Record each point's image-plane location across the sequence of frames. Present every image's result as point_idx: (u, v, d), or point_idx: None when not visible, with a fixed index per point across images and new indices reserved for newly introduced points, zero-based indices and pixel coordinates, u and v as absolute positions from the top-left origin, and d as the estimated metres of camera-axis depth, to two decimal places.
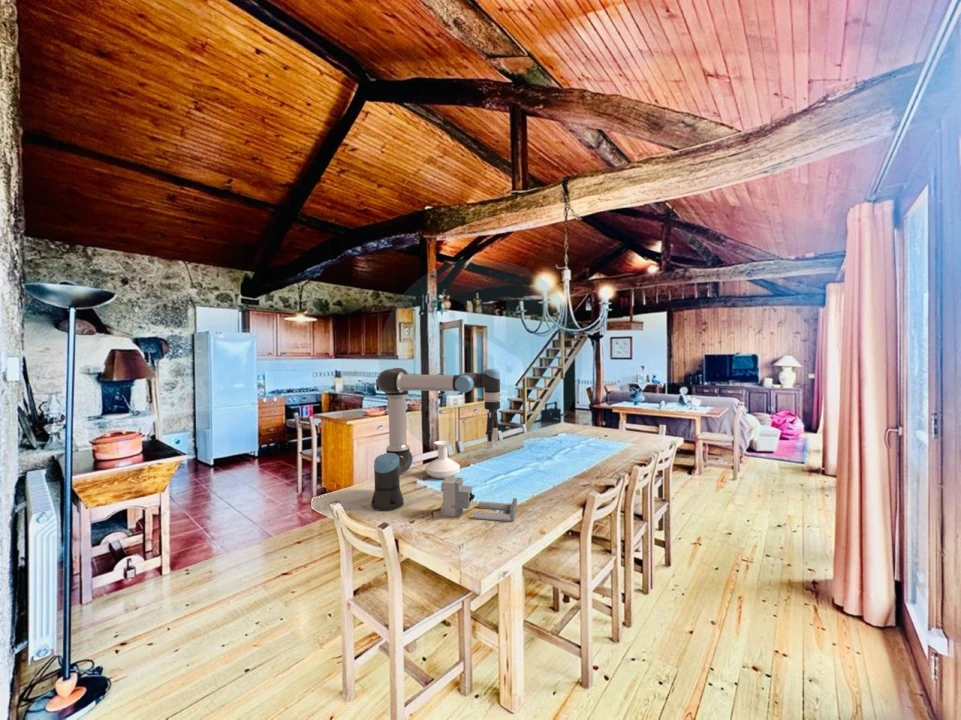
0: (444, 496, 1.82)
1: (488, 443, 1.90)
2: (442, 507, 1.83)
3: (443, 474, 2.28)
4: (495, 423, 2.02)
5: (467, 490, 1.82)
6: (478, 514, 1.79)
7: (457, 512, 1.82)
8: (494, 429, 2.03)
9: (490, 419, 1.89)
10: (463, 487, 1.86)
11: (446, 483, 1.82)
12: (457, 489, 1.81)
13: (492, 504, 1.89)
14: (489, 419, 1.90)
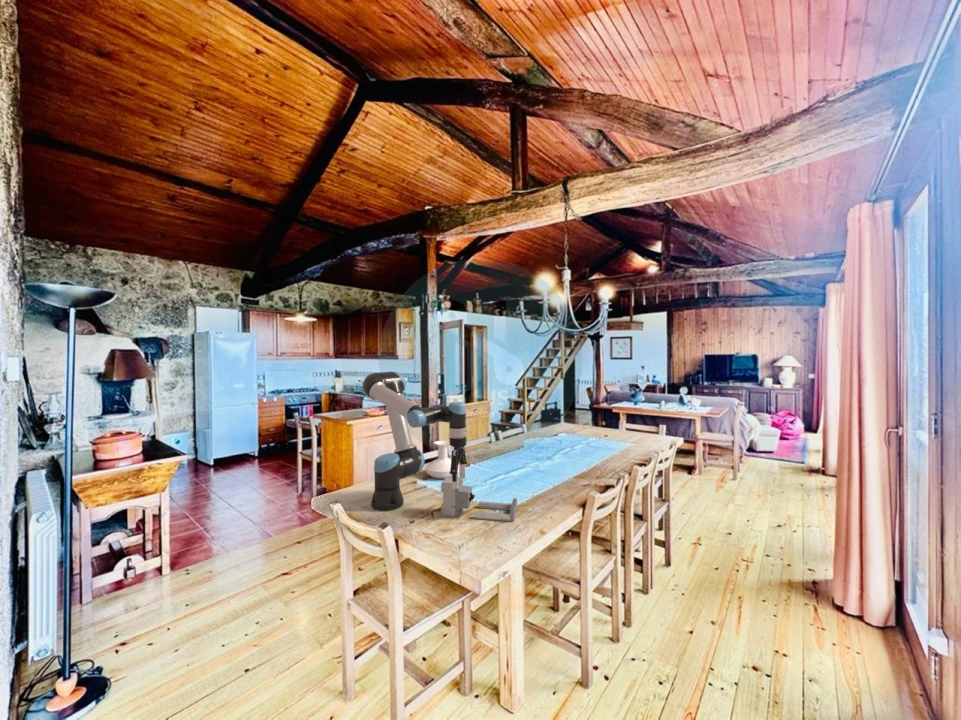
0: (444, 496, 1.82)
1: (453, 483, 1.77)
2: (442, 507, 1.83)
3: (443, 474, 2.28)
4: (462, 459, 1.89)
5: (467, 490, 1.82)
6: (478, 514, 1.79)
7: (457, 512, 1.82)
8: (461, 466, 1.91)
9: (454, 458, 1.77)
10: (463, 487, 1.86)
11: (446, 483, 1.82)
12: (457, 489, 1.81)
13: (492, 504, 1.89)
14: (453, 458, 1.77)
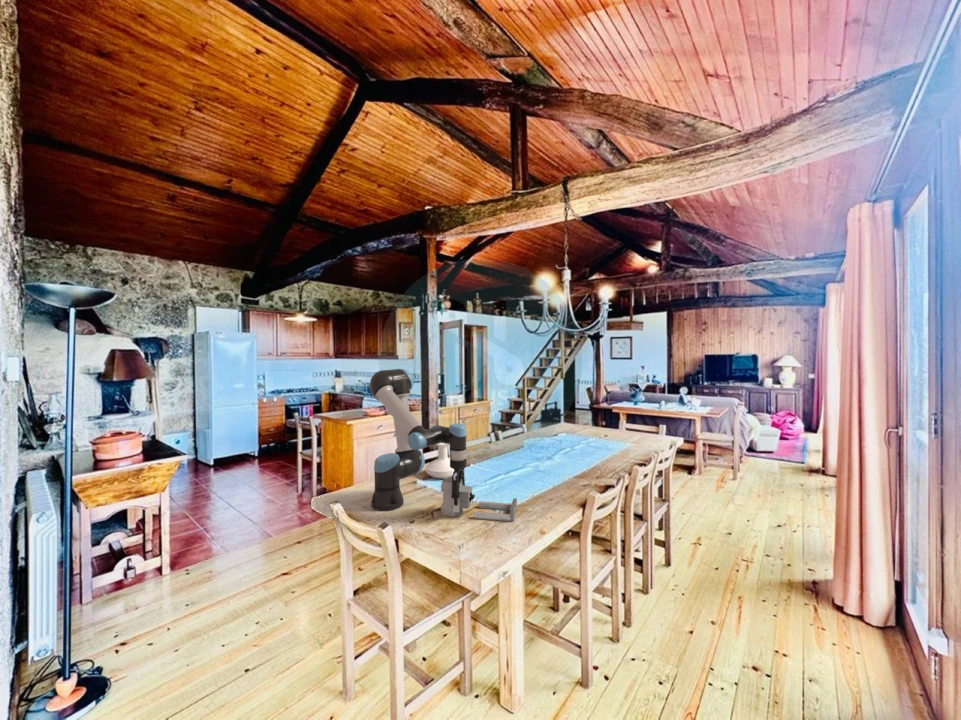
0: (444, 496, 1.82)
1: (454, 507, 1.81)
2: (442, 507, 1.83)
3: (443, 474, 2.28)
4: None
5: (467, 490, 1.82)
6: (478, 514, 1.79)
7: (457, 512, 1.82)
8: None
9: (455, 482, 1.78)
10: (463, 487, 1.86)
11: (446, 483, 1.82)
12: None
13: (492, 504, 1.89)
14: (454, 482, 1.78)
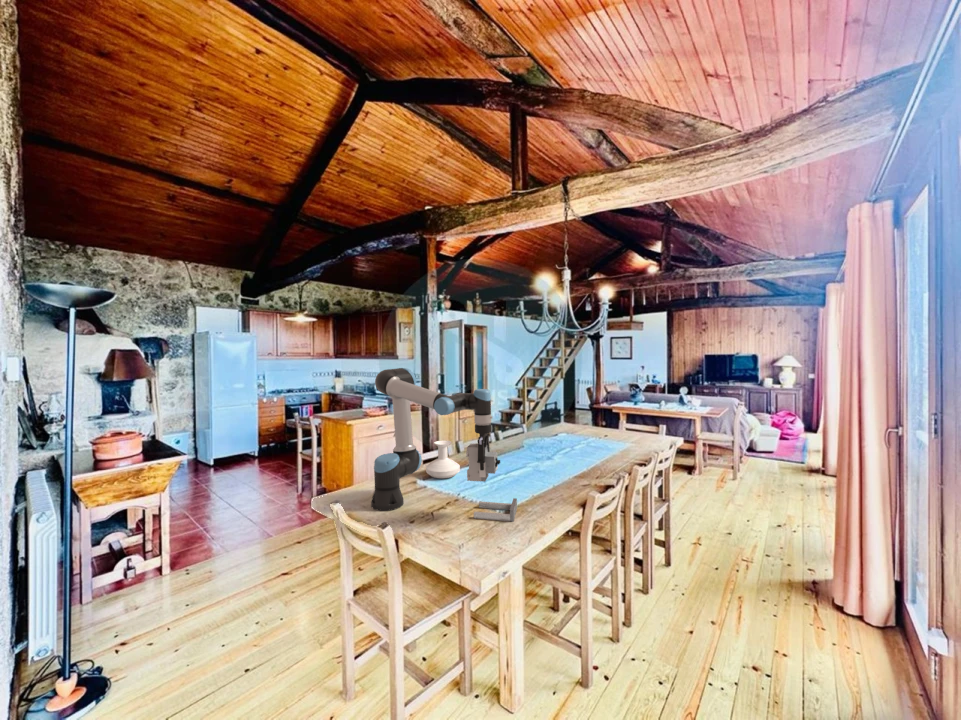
0: (469, 461, 1.81)
1: (480, 472, 1.79)
2: (468, 473, 1.81)
3: (443, 474, 2.28)
4: None
5: (493, 455, 1.80)
6: (478, 514, 1.79)
7: (483, 477, 1.80)
8: None
9: (481, 447, 1.76)
10: (488, 453, 1.84)
11: (472, 448, 1.80)
12: None
13: (492, 504, 1.89)
14: (480, 447, 1.76)
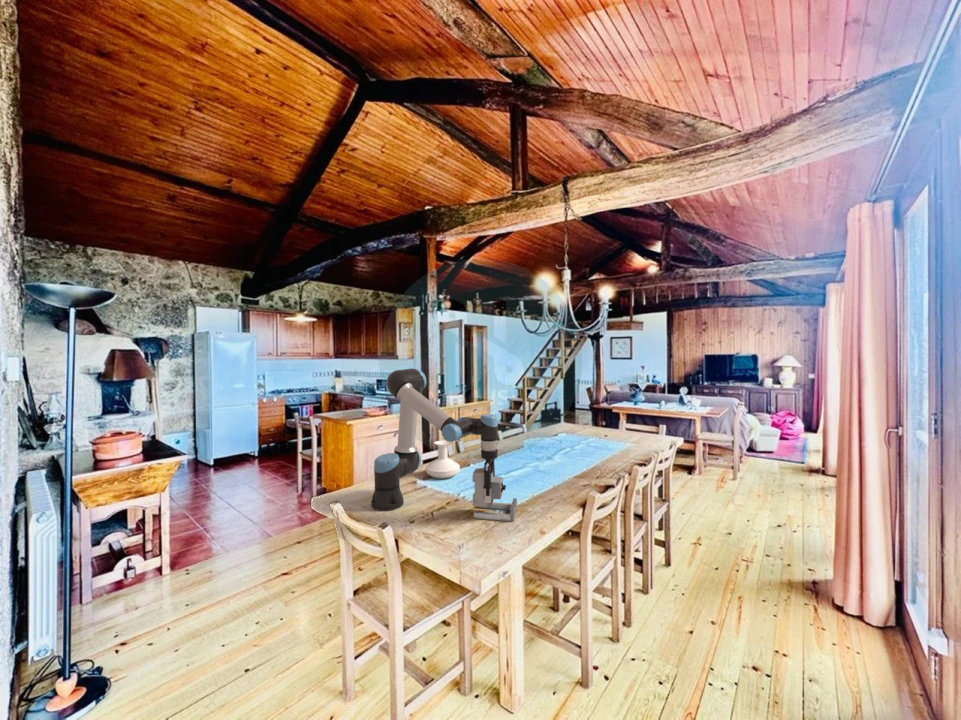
0: (475, 486, 1.81)
1: (486, 497, 1.80)
2: (473, 498, 1.82)
3: (443, 474, 2.28)
4: None
5: (499, 480, 1.81)
6: (478, 514, 1.79)
7: (489, 503, 1.81)
8: None
9: (487, 473, 1.77)
10: (494, 478, 1.85)
11: (478, 473, 1.81)
12: None
13: (492, 504, 1.89)
14: (486, 473, 1.77)
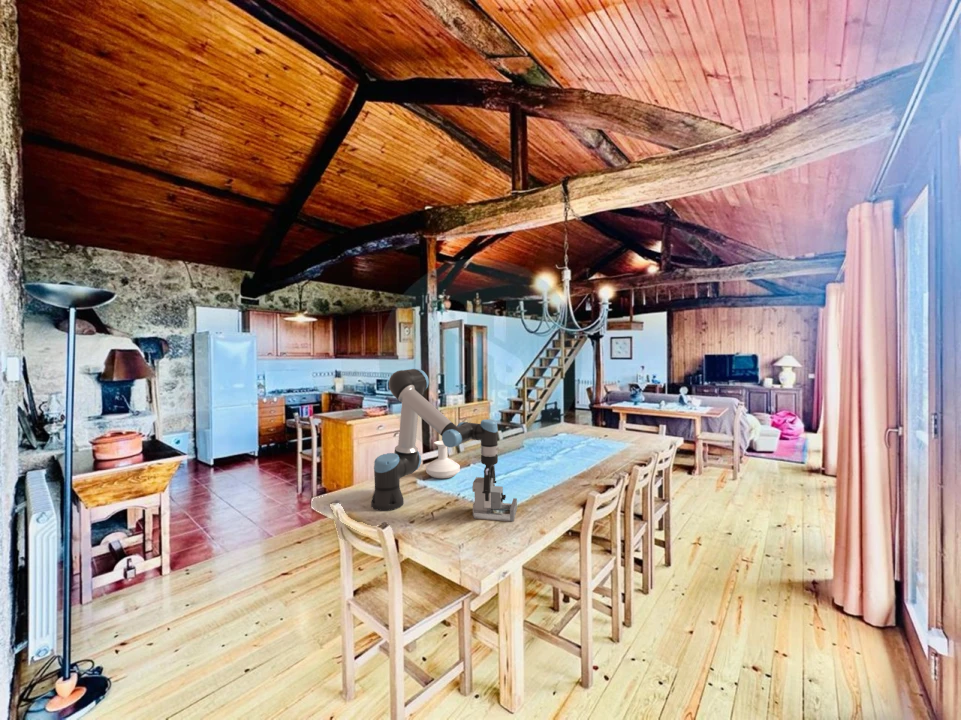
0: (475, 496, 1.82)
1: (485, 502, 1.78)
2: (473, 507, 1.82)
3: (443, 474, 2.28)
4: None
5: (499, 490, 1.81)
6: (478, 514, 1.79)
7: (489, 512, 1.81)
8: None
9: (487, 477, 1.77)
10: (494, 487, 1.85)
11: (478, 483, 1.81)
12: None
13: None
14: (486, 477, 1.77)
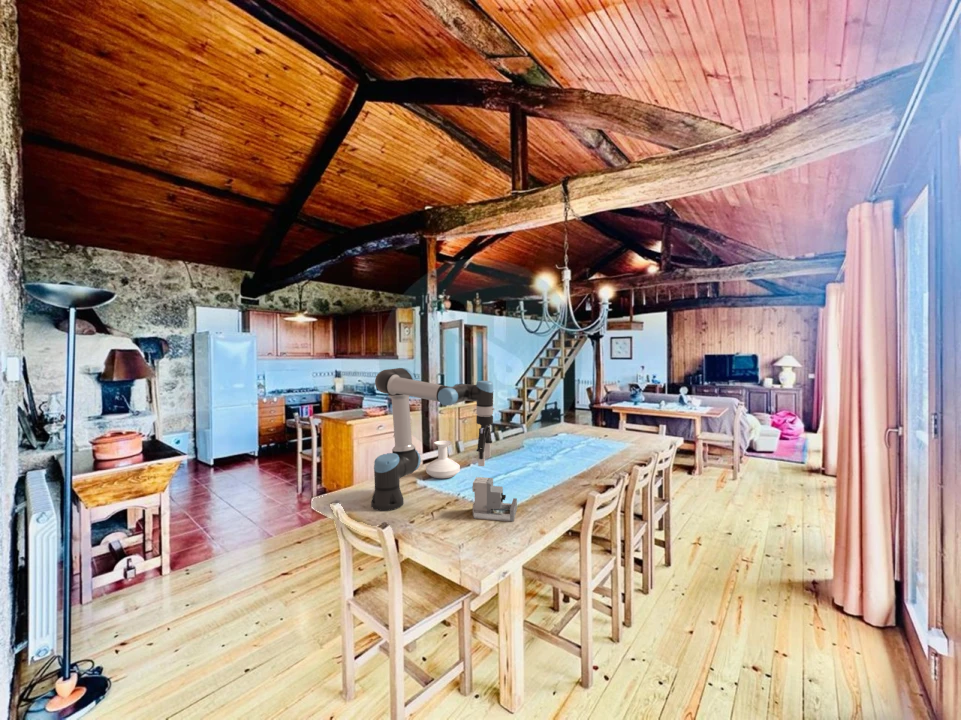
0: (475, 496, 1.82)
1: (479, 460, 1.78)
2: (473, 507, 1.82)
3: (443, 474, 2.28)
4: (488, 438, 1.90)
5: (499, 490, 1.81)
6: (478, 514, 1.79)
7: (489, 512, 1.81)
8: (486, 444, 1.91)
9: (482, 435, 1.77)
10: (494, 487, 1.85)
11: (478, 483, 1.81)
12: (489, 489, 1.80)
13: None
14: (481, 435, 1.77)
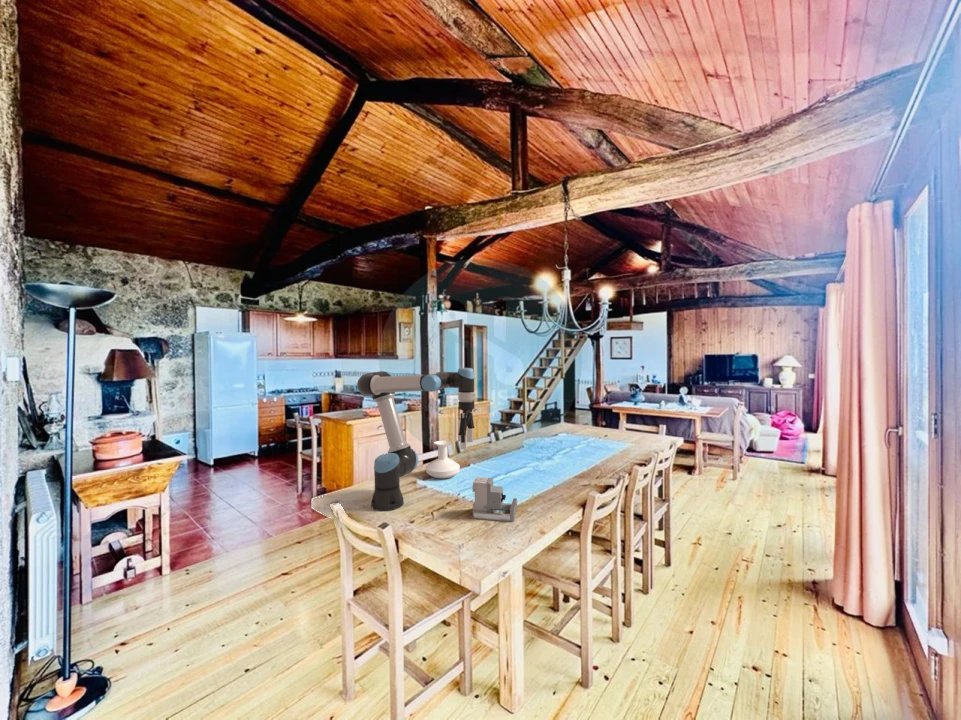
0: (475, 496, 1.82)
1: (461, 444, 1.85)
2: (473, 507, 1.82)
3: (443, 474, 2.28)
4: (470, 424, 1.97)
5: (499, 490, 1.81)
6: (478, 514, 1.79)
7: (489, 512, 1.81)
8: (469, 430, 1.98)
9: (463, 420, 1.84)
10: (494, 487, 1.85)
11: (478, 483, 1.81)
12: (489, 489, 1.80)
13: None
14: (462, 420, 1.85)
